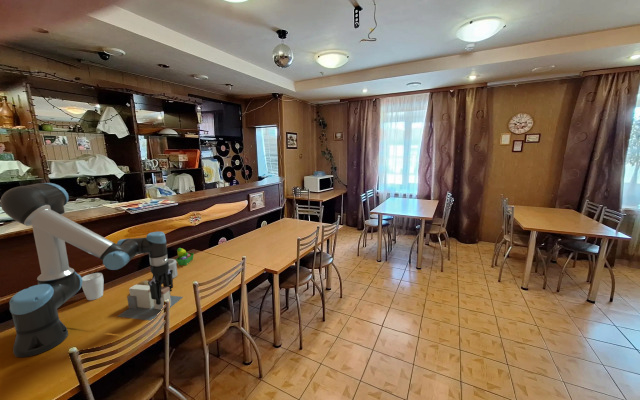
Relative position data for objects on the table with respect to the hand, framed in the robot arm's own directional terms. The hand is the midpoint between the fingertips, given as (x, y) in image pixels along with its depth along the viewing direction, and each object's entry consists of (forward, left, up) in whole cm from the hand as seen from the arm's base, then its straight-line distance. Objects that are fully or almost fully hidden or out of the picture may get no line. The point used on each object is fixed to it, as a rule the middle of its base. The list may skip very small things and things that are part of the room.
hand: (164, 306), depth 126 cm
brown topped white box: (0, +1, -1) cm, 1 cm away
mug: (+29, +24, -2) cm, 38 cm away
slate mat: (0, +7, -1) cm, 7 cm away
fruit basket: (+50, +26, -2) cm, 56 cm away
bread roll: (+12, +23, -2) cm, 26 cm away
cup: (+3, +45, -1) cm, 45 cm away
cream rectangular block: (0, +12, -1) cm, 12 cm away
